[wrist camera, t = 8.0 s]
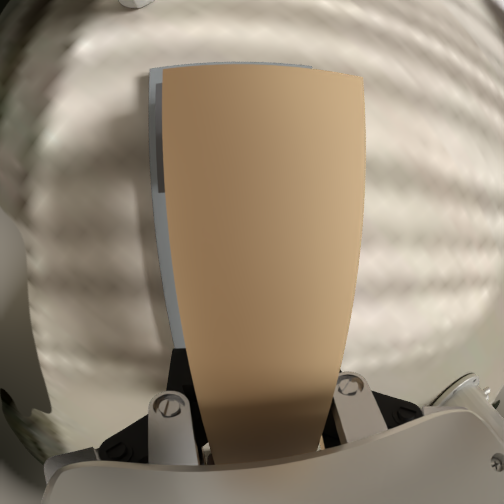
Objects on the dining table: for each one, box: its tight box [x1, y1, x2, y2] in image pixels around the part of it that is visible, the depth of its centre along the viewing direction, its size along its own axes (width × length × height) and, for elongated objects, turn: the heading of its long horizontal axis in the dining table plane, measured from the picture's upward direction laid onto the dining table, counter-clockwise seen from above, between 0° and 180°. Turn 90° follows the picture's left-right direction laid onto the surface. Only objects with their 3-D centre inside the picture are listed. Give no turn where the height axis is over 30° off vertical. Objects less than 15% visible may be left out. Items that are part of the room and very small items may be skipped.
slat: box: [162, 64, 366, 465], centre depth 9 cm, size 3×18×6 cm, turn 1°
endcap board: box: [149, 62, 312, 348], centre depth 17 cm, size 10×28×5 cm, turn 1°
